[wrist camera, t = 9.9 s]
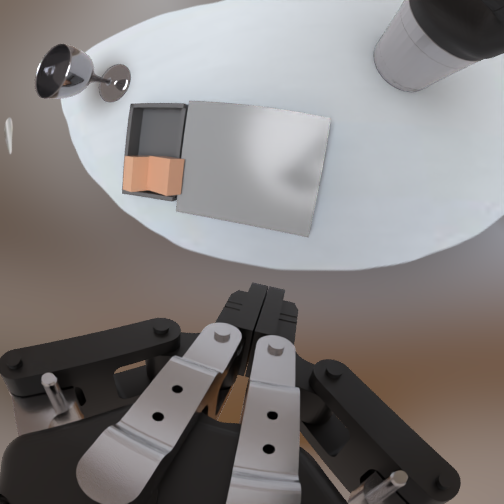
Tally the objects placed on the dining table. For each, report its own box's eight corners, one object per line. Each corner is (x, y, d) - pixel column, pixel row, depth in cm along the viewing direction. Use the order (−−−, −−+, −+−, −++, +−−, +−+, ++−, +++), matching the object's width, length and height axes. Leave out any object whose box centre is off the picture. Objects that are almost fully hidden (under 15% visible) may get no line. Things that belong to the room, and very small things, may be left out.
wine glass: (126, 53, 36) (66, 32, 22) (137, 88, 38) (74, 74, 24) (93, 78, 38) (32, 68, 24) (103, 112, 40) (38, 109, 26)
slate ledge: (197, 103, 37) (189, 100, 35) (329, 121, 35) (331, 118, 32) (184, 207, 43) (176, 211, 40) (308, 231, 41) (308, 237, 38)
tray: (142, 106, 39) (130, 103, 36) (193, 106, 38) (183, 103, 34) (134, 190, 44) (122, 193, 41) (182, 197, 43) (172, 201, 39)
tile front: (163, 155, 40) (149, 155, 38) (184, 159, 37) (170, 159, 35) (160, 188, 41) (146, 189, 39) (180, 194, 39) (166, 195, 37)
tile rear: (161, 156, 39) (152, 155, 41) (133, 157, 36) (125, 155, 37) (158, 189, 41) (149, 186, 43) (130, 192, 37) (122, 189, 39)
